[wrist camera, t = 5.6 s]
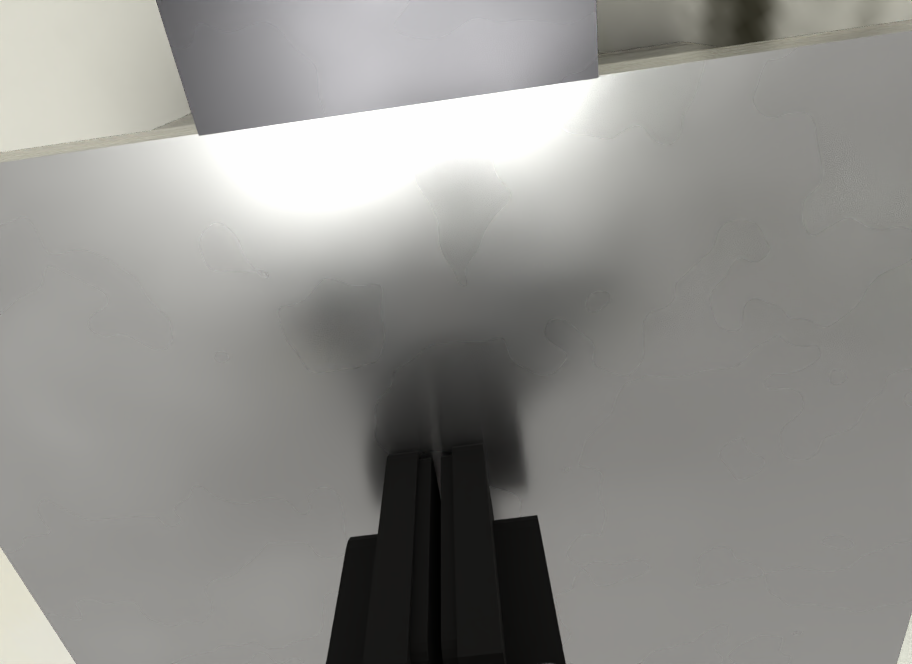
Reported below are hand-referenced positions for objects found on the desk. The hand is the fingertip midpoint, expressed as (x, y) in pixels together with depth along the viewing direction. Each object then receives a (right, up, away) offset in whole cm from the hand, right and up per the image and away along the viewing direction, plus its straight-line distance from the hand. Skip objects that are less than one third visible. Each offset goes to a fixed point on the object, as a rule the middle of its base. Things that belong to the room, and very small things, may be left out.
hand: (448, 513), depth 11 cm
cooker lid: (0, +1, +1) cm, 1 cm away
